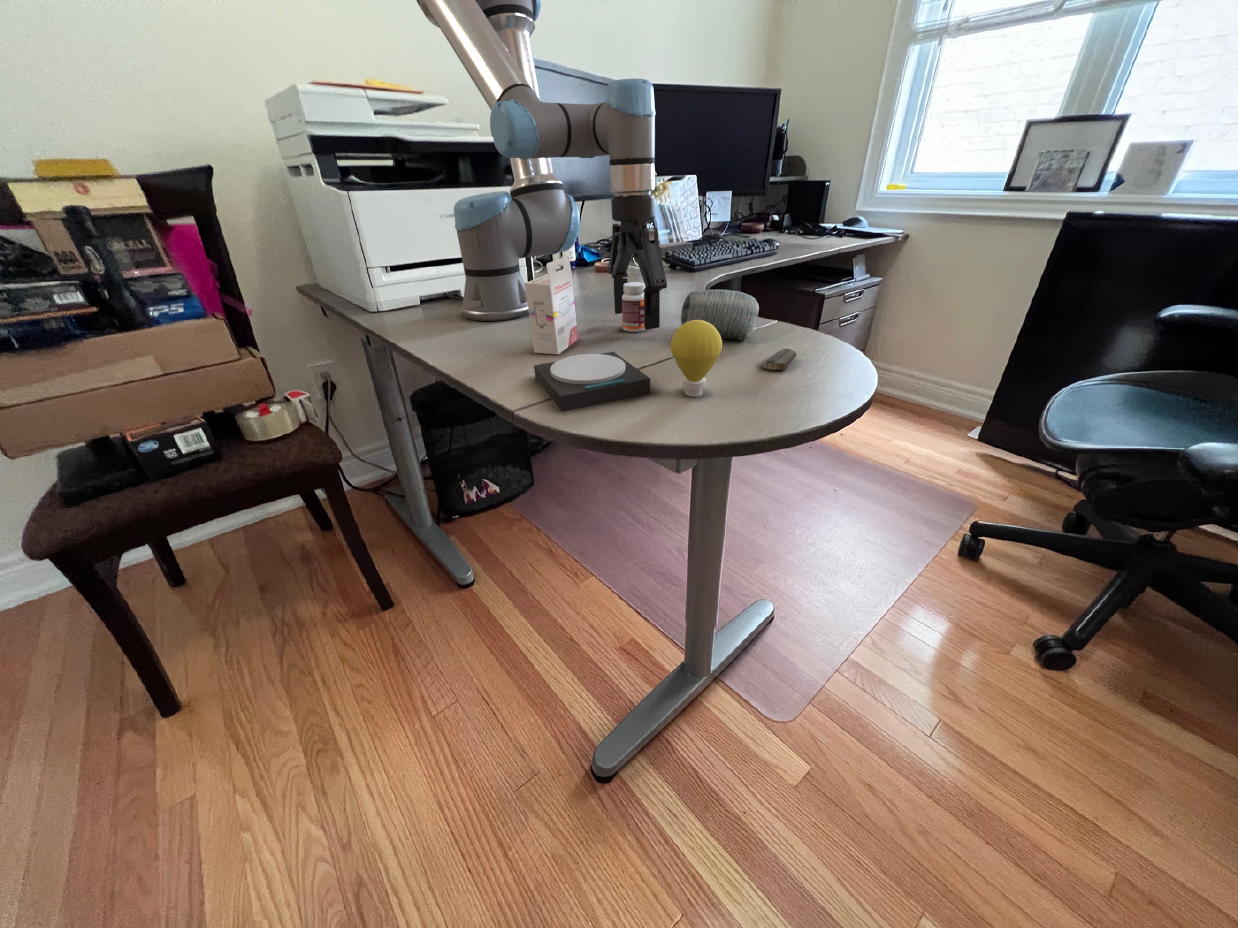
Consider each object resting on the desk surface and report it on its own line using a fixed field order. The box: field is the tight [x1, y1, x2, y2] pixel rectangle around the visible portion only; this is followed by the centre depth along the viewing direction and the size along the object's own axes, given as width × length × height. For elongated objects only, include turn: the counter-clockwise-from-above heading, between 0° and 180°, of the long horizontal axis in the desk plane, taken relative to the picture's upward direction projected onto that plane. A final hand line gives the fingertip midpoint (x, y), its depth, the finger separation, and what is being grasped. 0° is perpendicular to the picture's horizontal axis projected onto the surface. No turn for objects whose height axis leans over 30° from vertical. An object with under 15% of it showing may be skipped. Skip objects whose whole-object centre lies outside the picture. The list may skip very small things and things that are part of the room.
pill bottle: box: [621, 281, 646, 333], centre depth 93 cm, size 5×5×8 cm
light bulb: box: [670, 320, 723, 398], centre depth 65 cm, size 7×7×10 cm
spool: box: [680, 289, 760, 341], centre depth 88 cm, size 14×10×10 cm
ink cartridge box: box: [524, 255, 578, 356], centre depth 84 cm, size 9×5×15 cm, turn 160°
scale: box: [533, 351, 651, 412], centre depth 71 cm, size 13×13×3 cm
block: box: [762, 348, 797, 371], centre depth 76 cm, size 4×6×2 cm, turn 145°
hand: (636, 320), depth 94 cm, fingers open, 13 cm apart
